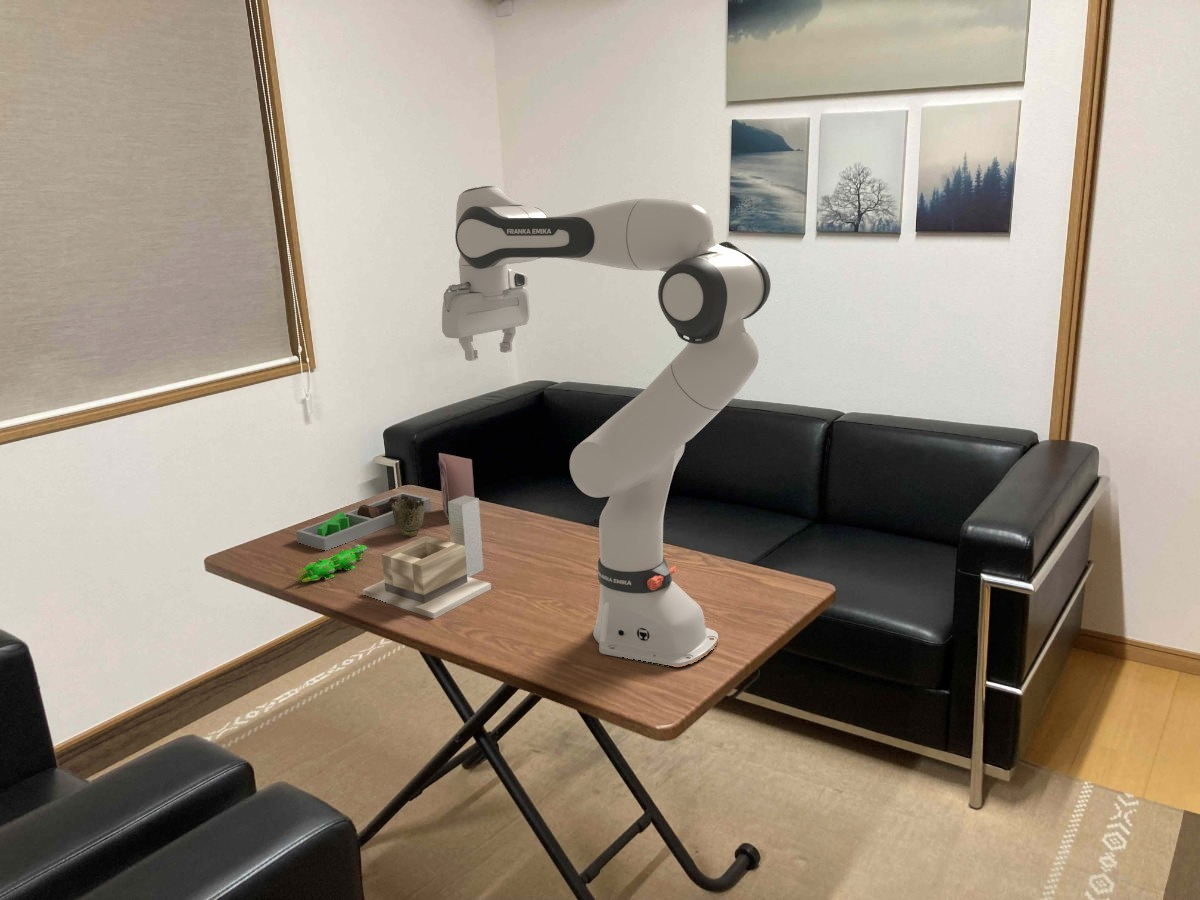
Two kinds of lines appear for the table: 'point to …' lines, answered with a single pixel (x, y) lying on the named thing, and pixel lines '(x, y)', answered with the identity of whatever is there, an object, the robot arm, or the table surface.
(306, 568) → the crocodile figurine
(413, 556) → the square socket base
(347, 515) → the parts tray
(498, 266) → the robot arm
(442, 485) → the greeting card
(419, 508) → the cup
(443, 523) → the table surface
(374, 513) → the bolt
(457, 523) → the grey rectangular bar
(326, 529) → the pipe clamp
